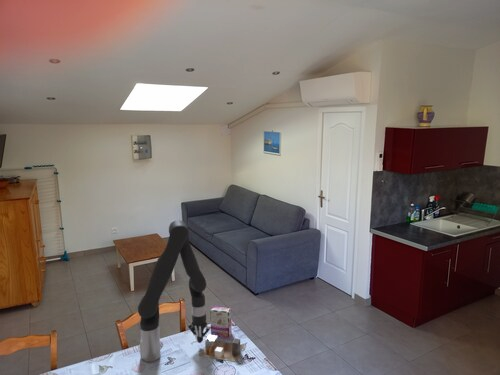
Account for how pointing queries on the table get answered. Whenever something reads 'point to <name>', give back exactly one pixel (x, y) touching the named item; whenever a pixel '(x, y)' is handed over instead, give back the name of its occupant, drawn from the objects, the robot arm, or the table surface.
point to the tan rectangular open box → (226, 351)
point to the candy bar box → (221, 321)
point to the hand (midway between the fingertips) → (200, 342)
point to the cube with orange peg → (211, 343)
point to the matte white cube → (219, 352)
